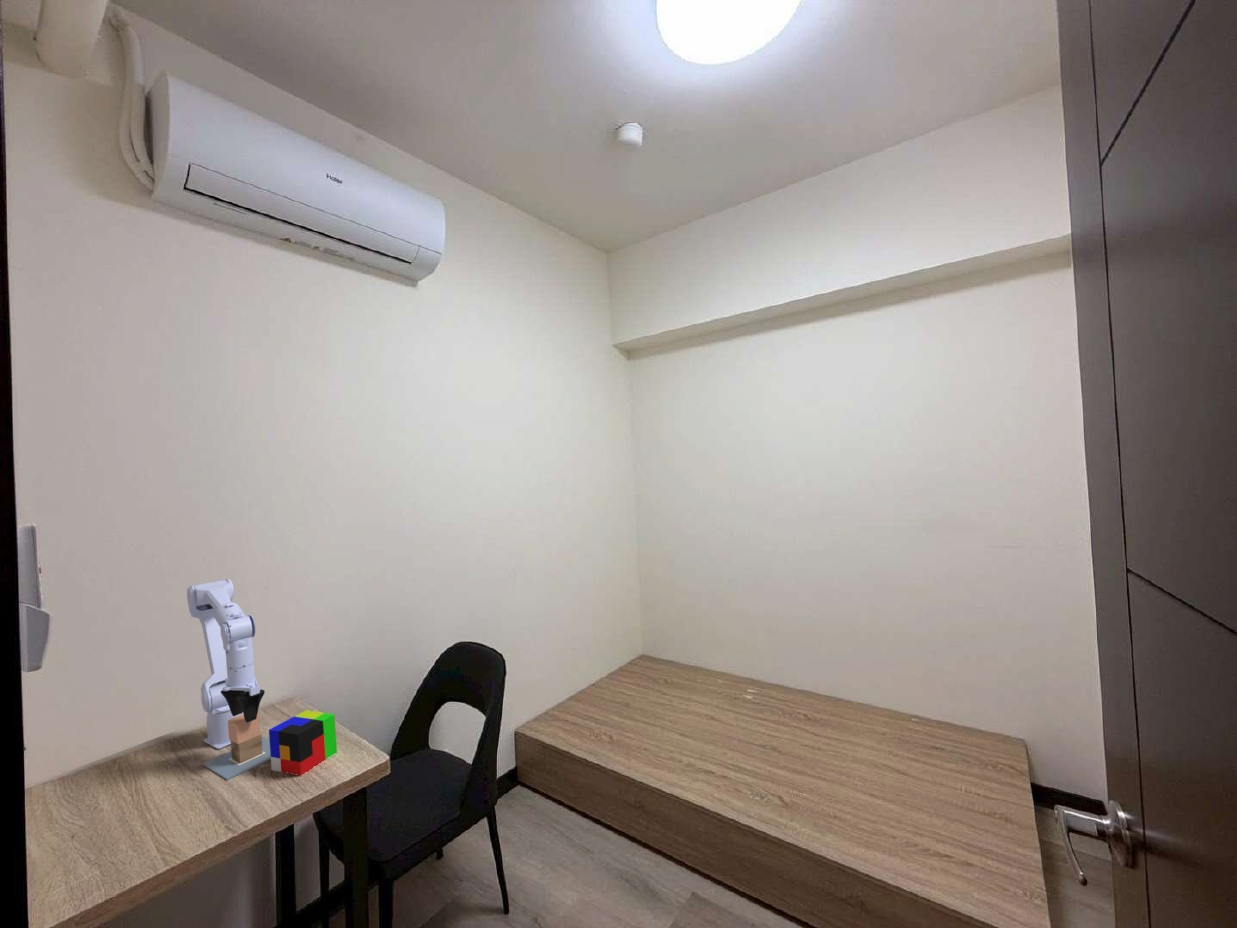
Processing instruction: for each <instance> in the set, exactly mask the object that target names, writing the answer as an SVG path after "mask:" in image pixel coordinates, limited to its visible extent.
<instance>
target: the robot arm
mask: <svg viewBox="0 0 1237 928" xmlns="http://www.w3.org/2000/svg"><path fill="white" fill-rule="evenodd" d="M234 595H235V588H234V584H233V581H232V580H231V579H229V578H225V579H221V580H217V581H211V582H205V583H199V584H194V585H193V584H191V585H189V587H188V588H187V589H186V598H187V599H186V600H187V603H188V604H187V605H188V610H189V613H190V616H191V617H192V618H196V619H199V621H200V623H201V624H200V625H201V628H202V631H203V637H204V641H205V647H206V653H207V659H208V664H209V669H210V673H211V674H210V676H209V677H208V678H207V679H206V680H205V681H203V682H202V685H201V687H200V692H201V694H200V700H201V705H202V709H203V711H204V712H206V713H207V714H206V732H207V738H204V739H203V742H204V743H206V744H208V745H210V746H211V747H212V748H215V749H216V750H221V749H223V748H225V747H227V746H229V745H230V746H231V740H229V733H228V720H229V719H232V718H234V717H237V716H239V715H242V714H244V718H245V721H246V722H247V723H248V722H251V721H253V720H255V719H256V718H257V715H258V712H259V708H260V704H261V701H262V699H263V697H264V695H265V693H266V692H265V689H261V688H260V684H258V680H257V678H256V672H255V671H256V668H255V656H254V655H255V653H254V639H253V638H254V637H255V636H256V623H255V619H254V617H253V615H252V614H245V613H244V611H243V609H242V608H241V606H240V605H239V604H238V603H235V602H233V598H234Z"/></svg>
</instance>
